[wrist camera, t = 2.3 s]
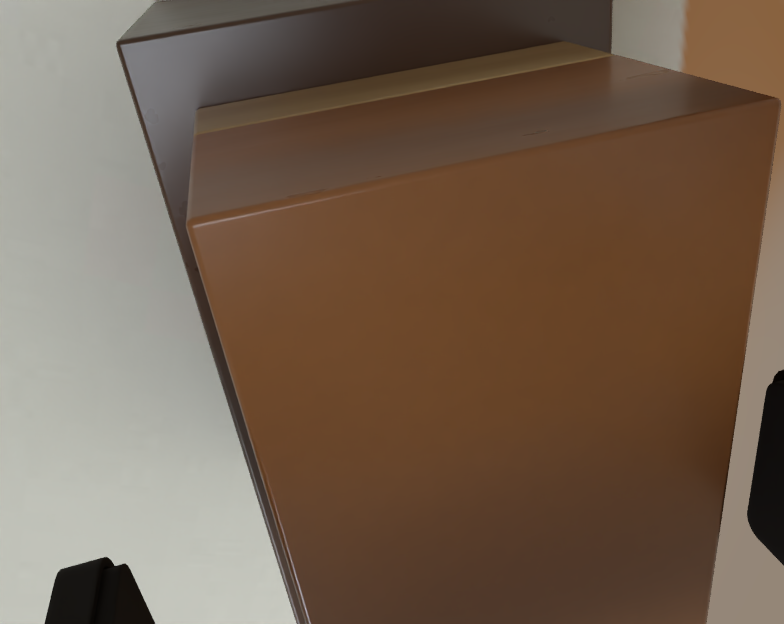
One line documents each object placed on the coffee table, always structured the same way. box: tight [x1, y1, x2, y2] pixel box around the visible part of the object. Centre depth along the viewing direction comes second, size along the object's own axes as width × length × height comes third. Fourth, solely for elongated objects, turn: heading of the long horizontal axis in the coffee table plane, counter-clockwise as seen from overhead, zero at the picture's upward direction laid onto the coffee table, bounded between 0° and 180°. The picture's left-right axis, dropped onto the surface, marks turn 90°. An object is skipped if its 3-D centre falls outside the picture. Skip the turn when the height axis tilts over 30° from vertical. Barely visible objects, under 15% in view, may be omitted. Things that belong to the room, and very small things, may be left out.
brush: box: [186, 41, 781, 624], centre depth 11 cm, size 11×6×4 cm, turn 8°
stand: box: [116, 0, 613, 624], centre depth 16 cm, size 13×7×7 cm, turn 8°
